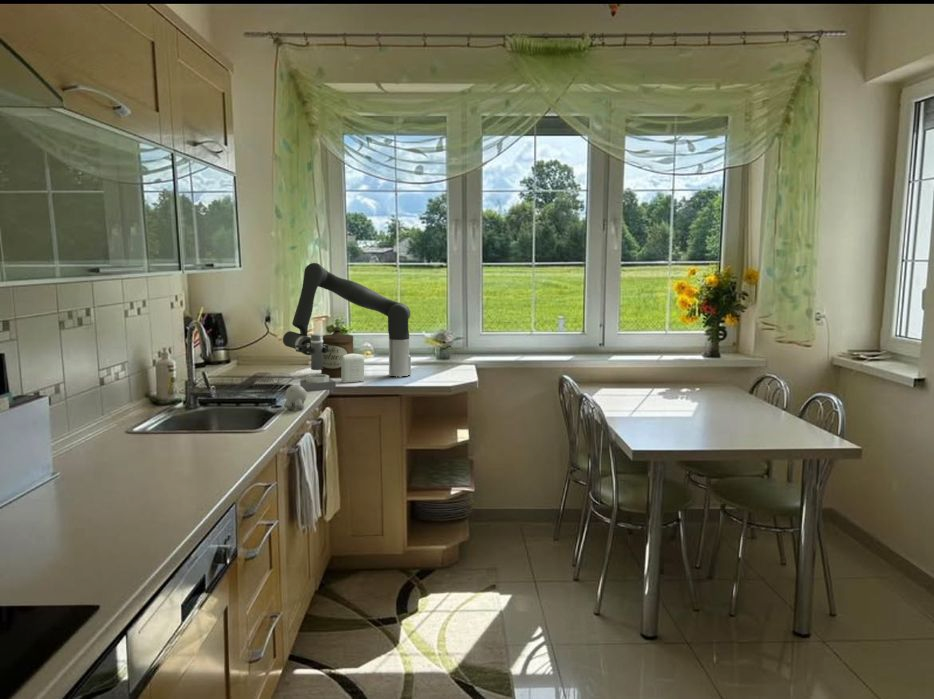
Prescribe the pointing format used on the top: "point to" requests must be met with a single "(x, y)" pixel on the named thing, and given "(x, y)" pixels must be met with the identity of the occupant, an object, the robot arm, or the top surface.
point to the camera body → (317, 382)
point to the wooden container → (336, 352)
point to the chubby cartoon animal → (295, 397)
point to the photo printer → (352, 368)
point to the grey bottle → (317, 352)
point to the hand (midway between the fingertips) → (319, 350)
